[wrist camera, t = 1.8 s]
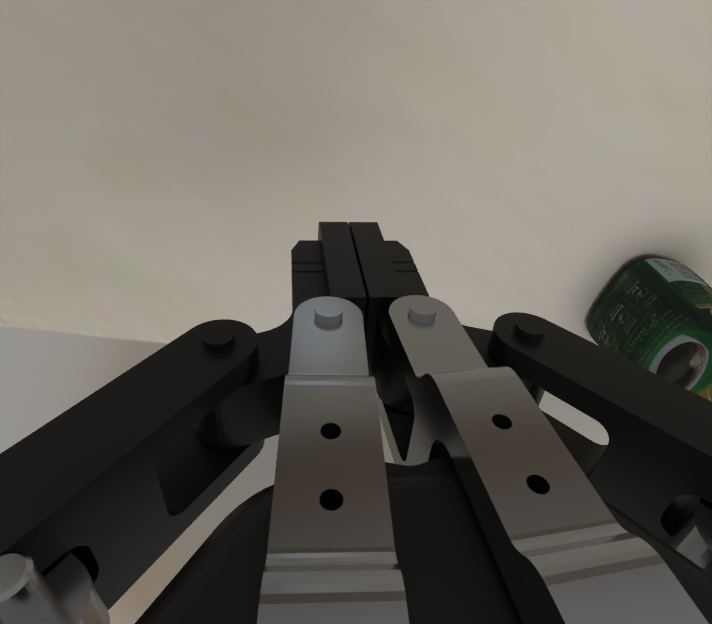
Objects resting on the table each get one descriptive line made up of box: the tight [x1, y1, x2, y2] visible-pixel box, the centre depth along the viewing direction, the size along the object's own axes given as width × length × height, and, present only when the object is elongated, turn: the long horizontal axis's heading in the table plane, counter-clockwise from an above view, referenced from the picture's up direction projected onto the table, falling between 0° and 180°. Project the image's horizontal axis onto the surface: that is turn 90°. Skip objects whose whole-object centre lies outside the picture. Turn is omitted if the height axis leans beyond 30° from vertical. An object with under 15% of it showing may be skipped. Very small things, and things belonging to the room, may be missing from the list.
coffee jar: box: [588, 258, 712, 402], centre depth 37 cm, size 10×8×19 cm
